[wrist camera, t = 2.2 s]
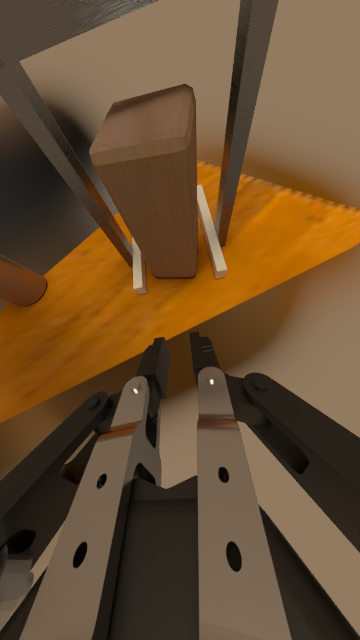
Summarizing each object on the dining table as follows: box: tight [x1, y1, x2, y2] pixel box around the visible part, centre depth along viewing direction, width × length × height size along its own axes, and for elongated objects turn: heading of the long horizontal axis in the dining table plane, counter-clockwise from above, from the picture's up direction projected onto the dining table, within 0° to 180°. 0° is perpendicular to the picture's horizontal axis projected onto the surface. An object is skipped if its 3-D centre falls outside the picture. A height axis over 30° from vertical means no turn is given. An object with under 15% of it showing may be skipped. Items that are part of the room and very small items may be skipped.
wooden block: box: [89, 84, 198, 278], centre depth 22 cm, size 10×10×20 cm
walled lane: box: [132, 185, 227, 294], centre depth 32 cm, size 20×28×2 cm
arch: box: [0, 0, 278, 267], centre depth 20 cm, size 24×3×26 cm, turn 98°
